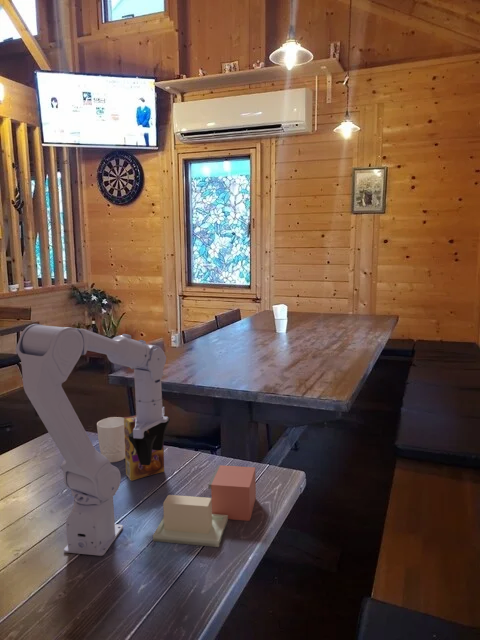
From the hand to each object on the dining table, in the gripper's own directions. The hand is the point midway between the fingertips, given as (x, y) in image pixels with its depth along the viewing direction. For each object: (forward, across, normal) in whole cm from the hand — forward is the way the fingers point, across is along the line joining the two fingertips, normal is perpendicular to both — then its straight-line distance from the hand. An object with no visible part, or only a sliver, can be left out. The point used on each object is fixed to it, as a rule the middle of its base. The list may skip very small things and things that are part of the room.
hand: (151, 456), depth 108 cm
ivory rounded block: (+9, -11, -11) cm, 18 cm away
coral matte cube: (+10, -2, -19) cm, 21 cm away
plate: (+10, -11, -12) cm, 19 cm away
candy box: (+10, +11, +6) cm, 16 cm away
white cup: (+10, +19, +18) cm, 28 cm away
